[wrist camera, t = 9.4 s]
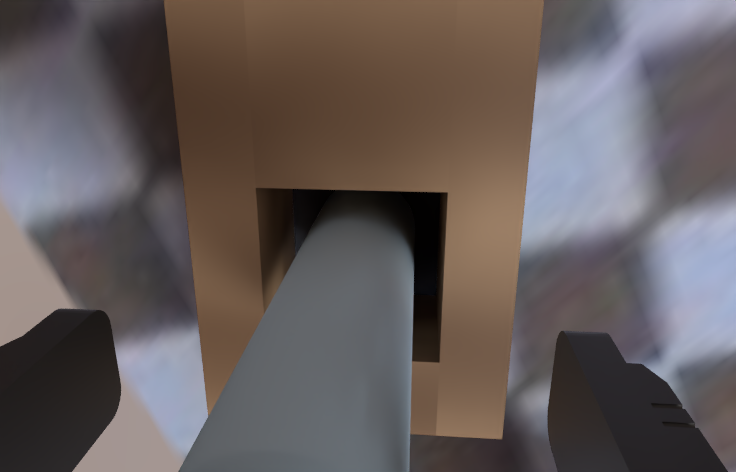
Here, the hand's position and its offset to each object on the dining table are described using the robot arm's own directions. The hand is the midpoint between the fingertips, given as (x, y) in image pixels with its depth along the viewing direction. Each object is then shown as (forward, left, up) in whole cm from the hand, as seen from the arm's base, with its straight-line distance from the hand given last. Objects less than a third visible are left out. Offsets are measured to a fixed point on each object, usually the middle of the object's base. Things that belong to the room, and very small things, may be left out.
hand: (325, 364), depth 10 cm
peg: (0, 0, -8) cm, 8 cm away
